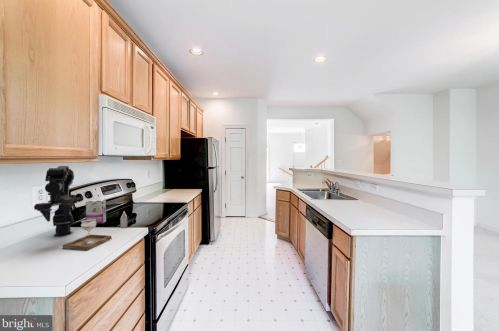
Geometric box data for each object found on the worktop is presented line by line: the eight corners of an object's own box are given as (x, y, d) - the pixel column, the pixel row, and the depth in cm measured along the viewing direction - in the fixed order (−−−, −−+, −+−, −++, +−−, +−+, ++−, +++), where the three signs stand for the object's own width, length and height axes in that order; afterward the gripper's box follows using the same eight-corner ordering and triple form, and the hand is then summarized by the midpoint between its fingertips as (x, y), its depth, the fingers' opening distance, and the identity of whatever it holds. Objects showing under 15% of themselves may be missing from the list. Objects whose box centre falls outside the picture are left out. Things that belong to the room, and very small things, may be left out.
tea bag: (120, 228, 144) (120, 213, 144) (121, 225, 150) (120, 211, 150) (126, 227, 146) (126, 212, 146) (127, 224, 152) (127, 210, 152)
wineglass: (94, 243, 116) (94, 221, 115) (79, 245, 113) (78, 222, 113) (98, 239, 122) (97, 218, 122) (83, 241, 119) (83, 219, 119)
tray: (89, 237, 126) (89, 234, 126) (111, 239, 124) (111, 235, 124) (62, 248, 110) (62, 245, 110) (87, 250, 108) (87, 246, 108)
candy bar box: (106, 221, 159) (106, 199, 159) (103, 223, 154) (103, 200, 154) (89, 222, 157) (89, 200, 156) (85, 224, 152) (85, 201, 151)
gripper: (52, 193, 107) (52, 224, 108) (85, 189, 126) (85, 215, 126) (32, 193, 109) (33, 223, 109) (68, 188, 127) (68, 214, 128)
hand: (57, 219), depth 118 cm, fingers open, 9 cm apart
